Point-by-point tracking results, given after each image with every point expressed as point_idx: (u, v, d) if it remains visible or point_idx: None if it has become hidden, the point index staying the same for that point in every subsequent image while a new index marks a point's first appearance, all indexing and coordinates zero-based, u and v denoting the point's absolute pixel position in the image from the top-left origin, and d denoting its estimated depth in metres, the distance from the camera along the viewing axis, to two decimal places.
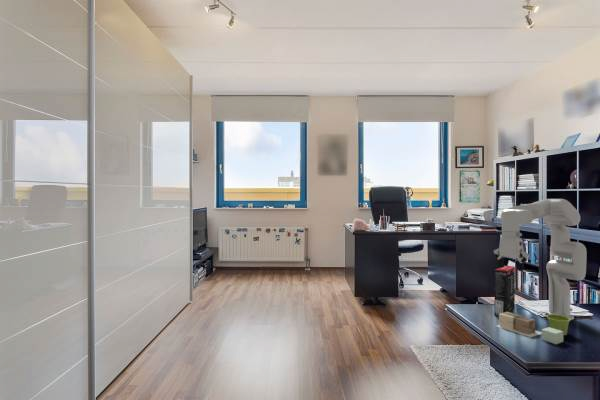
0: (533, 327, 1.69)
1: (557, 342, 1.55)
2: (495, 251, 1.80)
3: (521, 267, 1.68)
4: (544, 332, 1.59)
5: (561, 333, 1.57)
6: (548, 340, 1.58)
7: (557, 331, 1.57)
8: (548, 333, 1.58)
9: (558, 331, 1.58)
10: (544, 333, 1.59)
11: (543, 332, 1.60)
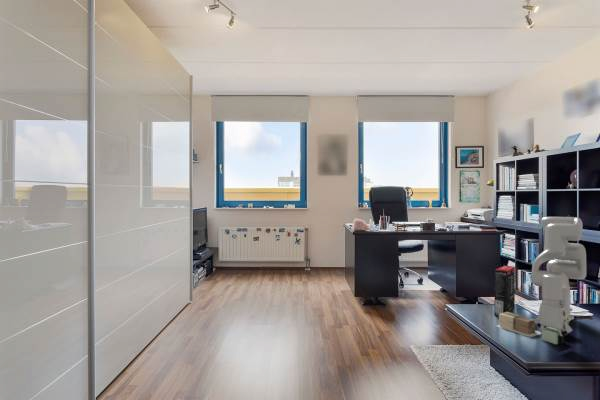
0: (533, 327, 1.69)
1: (557, 342, 1.55)
2: (536, 320, 1.65)
3: (561, 340, 1.55)
4: (544, 332, 1.59)
5: None
6: (548, 340, 1.58)
7: (557, 331, 1.57)
8: (548, 332, 1.58)
9: None
10: (544, 333, 1.59)
11: (543, 332, 1.59)
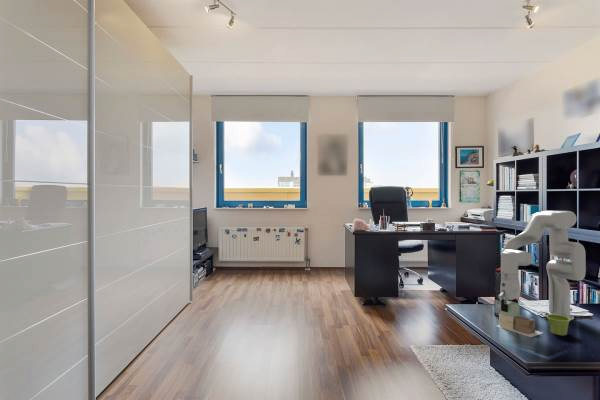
0: (533, 327, 1.69)
1: None
2: None
3: (502, 307, 1.75)
4: None
5: (509, 305, 1.75)
6: None
7: (507, 303, 1.76)
8: None
9: (510, 304, 1.75)
10: None
11: None
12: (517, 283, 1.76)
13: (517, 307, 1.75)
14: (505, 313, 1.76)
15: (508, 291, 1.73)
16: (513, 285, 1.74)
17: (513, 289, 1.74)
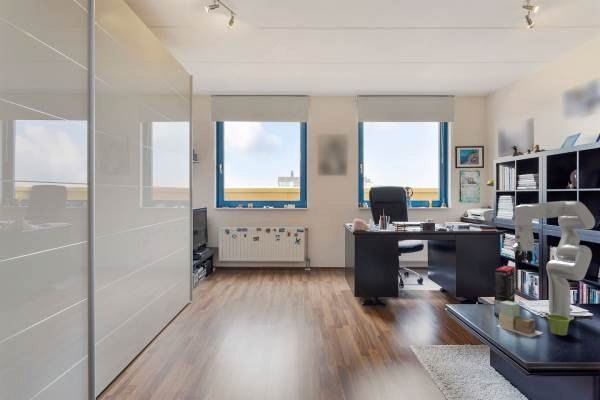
0: (533, 327, 1.69)
1: (502, 310, 1.78)
2: None
3: (516, 258, 1.80)
4: None
5: (509, 305, 1.75)
6: None
7: (507, 303, 1.76)
8: None
9: (510, 304, 1.75)
10: None
11: None
12: (531, 235, 1.81)
13: (517, 307, 1.75)
14: (505, 313, 1.76)
15: (523, 242, 1.78)
16: (528, 237, 1.79)
17: (527, 241, 1.79)
